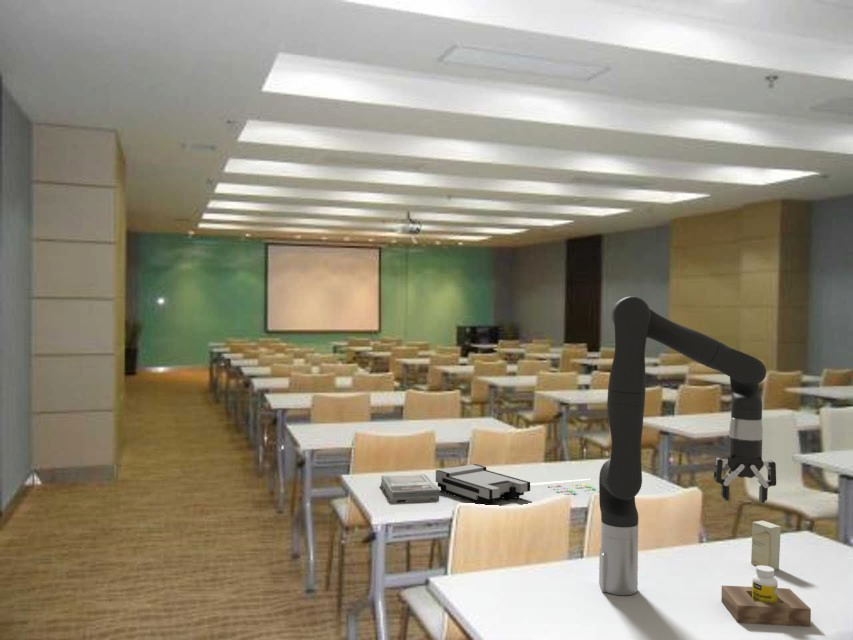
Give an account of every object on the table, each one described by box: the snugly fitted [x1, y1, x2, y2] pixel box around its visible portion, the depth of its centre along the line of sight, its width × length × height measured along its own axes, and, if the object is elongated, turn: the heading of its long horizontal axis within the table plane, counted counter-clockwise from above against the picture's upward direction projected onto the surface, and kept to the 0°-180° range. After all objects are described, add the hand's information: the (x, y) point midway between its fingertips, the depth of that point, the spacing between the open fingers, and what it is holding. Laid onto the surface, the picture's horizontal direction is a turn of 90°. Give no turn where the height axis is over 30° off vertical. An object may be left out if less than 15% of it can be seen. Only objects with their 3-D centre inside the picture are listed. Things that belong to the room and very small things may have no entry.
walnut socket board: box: [720, 585, 812, 627], centre depth 169 cm, size 16×12×4 cm
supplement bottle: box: [751, 565, 778, 603], centre depth 169 cm, size 5×5×10 cm
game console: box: [435, 463, 531, 505], centre depth 277 cm, size 21×32×8 cm, turn 37°
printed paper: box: [530, 478, 599, 495], centre depth 286 cm, size 30×30×2 cm
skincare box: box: [750, 520, 782, 571], centre depth 201 cm, size 6×4×12 cm
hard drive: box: [380, 473, 440, 503], centre depth 279 cm, size 18×27×4 cm
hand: (743, 501), depth 178 cm, fingers open, 8 cm apart
